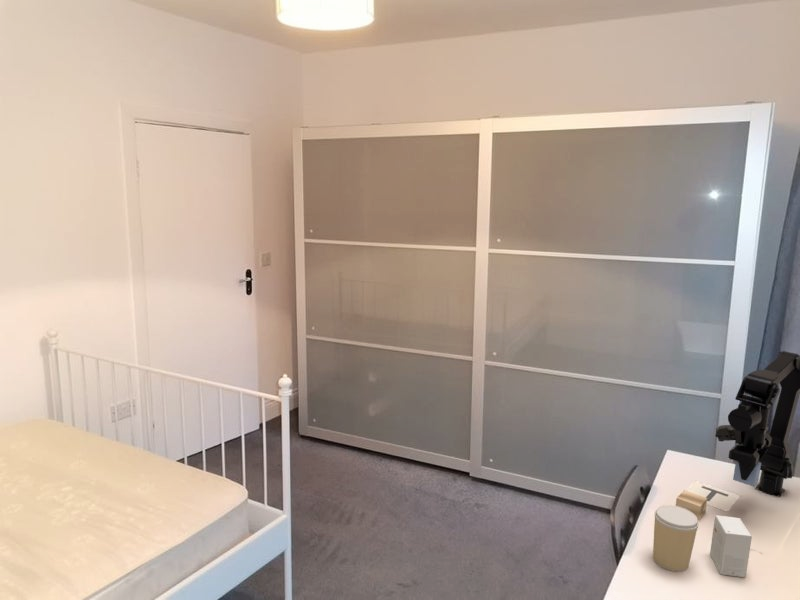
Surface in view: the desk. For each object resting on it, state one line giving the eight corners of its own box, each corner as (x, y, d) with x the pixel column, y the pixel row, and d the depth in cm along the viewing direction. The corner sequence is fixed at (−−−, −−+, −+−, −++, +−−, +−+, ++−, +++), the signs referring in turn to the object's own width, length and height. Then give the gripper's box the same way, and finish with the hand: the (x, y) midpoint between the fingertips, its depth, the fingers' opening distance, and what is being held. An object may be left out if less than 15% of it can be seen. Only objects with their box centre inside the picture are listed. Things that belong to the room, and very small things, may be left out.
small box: (745, 578, 138) (752, 536, 135) (719, 574, 139) (725, 533, 136) (734, 557, 145) (740, 517, 143) (709, 553, 146) (715, 514, 144)
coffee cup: (692, 556, 145) (698, 510, 143) (692, 578, 137) (699, 530, 134) (650, 545, 149) (655, 500, 147) (648, 566, 141) (654, 519, 138)
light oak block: (681, 506, 168) (684, 490, 167) (705, 515, 164) (707, 498, 163) (674, 514, 163) (676, 497, 162) (697, 523, 159) (700, 506, 158)
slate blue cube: (737, 473, 166) (740, 456, 165) (758, 479, 163) (761, 462, 162) (732, 479, 163) (735, 462, 162) (753, 486, 160) (756, 469, 159)
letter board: (695, 482, 181) (696, 480, 181) (740, 497, 173) (740, 496, 173) (681, 496, 173) (681, 494, 172) (727, 513, 164) (727, 511, 164)
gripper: (730, 404, 172) (723, 455, 175) (711, 422, 158) (703, 477, 161) (775, 415, 164) (767, 468, 168) (759, 435, 151) (750, 493, 154)
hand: (746, 476), depth 163 cm, fingers closed on slate blue cube, 5 cm apart
